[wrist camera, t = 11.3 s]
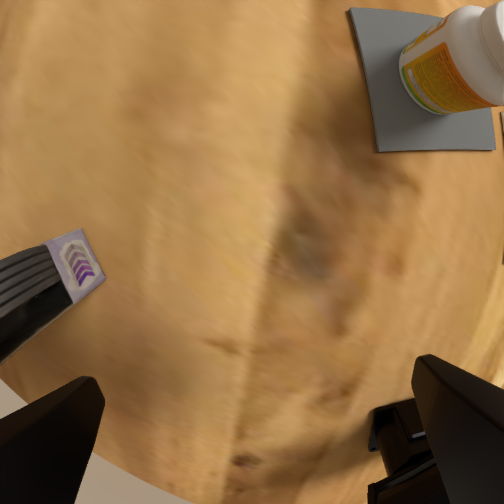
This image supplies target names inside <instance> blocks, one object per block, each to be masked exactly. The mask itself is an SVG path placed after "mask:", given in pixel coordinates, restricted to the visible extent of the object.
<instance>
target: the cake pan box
mask: <svg viewBox="0 0 504 504" xmlns="http://www.w3.org/2000/svg"><path fill="white" fill-rule="evenodd" d="M105 280H106V276H105V275H104V273H103V271H102V269H101V267H100V265H99V263H98V261H97V259H96V257H95V255H94V253H93V251H92V249H91V247H90V245H89V243H88V241H87V239H86V237H85V235H84V232H83V230H82V228H79V229H76V230H73V231H71V232H68V233H66V234H63V235H60V236H58V237H56V238H53V239H51V240H49V241H46V242H44V243H42V244H40V245H39V246H36V247H33V248H29V249H26V250H23V251H21V252H18V253H16V254H13V255H11V256H9V257H6V258H4V259H2V260H0V366H1V365H2V364H3V363H4V362H6V361H7V360H8V359H9V358H10V357H11V356H12V355H13V354H14V353H15V352H16V351H18V350H19V349H20V348H21V347H22V346H23V345H25V344H26V343H27V342H28V341H29V340H31V339H32V338H33V337H34V336H36V335H37V334H38V333H39V332H41V331H42V330H43V329H44V328H46V327H47V326H48V325H49V324H51V323H52V322H53V321H55V320H56V319H57V318H59V317H60V316H61V315H62V314H64V313H65V312H66V311H67V310H69V309H70V308H71V307H72V306H74V305H75V304H76V303H78V302H79V301H80V300H81V299H83V298H84V297H85V296H86V295H88V294H89V293H90V292H91V291H92V290H94V289H95V288H96V287H97V286H99V285H100V284H101V283H102V282H104V281H105Z"/></svg>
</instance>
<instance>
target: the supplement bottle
mask: <svg viewBox="0 0 504 504" xmlns="http://www.w3.org/2000/svg"><path fill="white" fill-rule="evenodd" d="M399 72H400V77H401V80H402V82H403V85H404V87H405V89H406V90H407V92H408V94H409V95H410V96H411V98H412V99H413V100H414V101H415V102H416V103H417V104H418V105H420V106H421V107H422V108H424V109H425V110H427V111H429V112H432V113H435V114H440V115H447V114H454V113H459V112H465V111H470V110H476V109H483V108H490V107H497V106H504V1H500V2H498V3H495V4H493V5H491V6H489V7H487V8H486V9H485V8H482V7H479V6H472V5H469V6H463V7H461V8H458V9H457V10H455V11H453V12H452V13H450V14H449V15H447V16H446V17H445V18H443V19H442V20H440V21H439V22H438V23H436V24H434V25H433V26H432V27H430V28H429V29H428V30H426V31H425V32H423V33H422V34H421V35H419V36H418V37H417V38H415V39H414V40H413V41H411V42H410V43H409V44H408V45H407V46H406V47H405V48H404V49H403V51H402V53H401V55H400V59H399Z"/></svg>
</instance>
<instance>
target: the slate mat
mask: <svg viewBox="0 0 504 504" xmlns="http://www.w3.org/2000/svg"><path fill="white" fill-rule="evenodd" d="M349 12H350V15H351V19H352V23H353V26H354V30H355V34H356V38H357V42H358V46H359V50H360V54H361V59H362V63H363V68H364V73H365V77H366V82H367V88H368V93H369V98H370V104H371V110H372V116H373V123H374V129H375V137H376V144H377V152H384V151H404V150H439V149H474V150H496V143H495V134H494V126H493V119H492V112H491V107H490V108H483V109H476V110H470V111H465V112H459V113H454V114H447V115H440V114H435V113H432V112H429V111H427V110H425V109H424V108H422V107H421V106H420V105H418V104H417V103H416V102H415V101H414V100H413V99H412V98H411V96H410V95H409V94H408V92H407V90H406V89H405V87H404V85H403V82H402V80H401V77H400V72H399V59H400V55H401V53H402V51H403V49H404V48H405V47H406V46H407V45H408V44H409V43H410V42H411V41H413V40H414V39H415V38H417V37H418V36H419V35H421V34H422V33H423V32H425V31H426V30H428V29H429V28H430V27H432V26H433V25H434V24H436V23H438V22H439V21H440V20H442V19H443V18H441V17H435V16H430V15H424V14H418V13H411V12H403V11H394V10H384V9H372V8H351V7H350V9H349Z"/></svg>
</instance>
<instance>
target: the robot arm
mask: <svg viewBox="0 0 504 504" xmlns="http://www.w3.org/2000/svg"><path fill="white" fill-rule="evenodd" d="M411 385H412V390H413V393H414V396H415V399H412V400H408V401H405V402H401V403H397V404H393V405H388V406H384V407H380V408H377V409H375V410H374V412H373V419H372V425H371V432H370V438H369V444H368V450H369V451H370V452H374V451H378V450H380V453H381V456H382V459H383V462H384V466H385V469H386V473H387V476H388V477H386V478H384V479H382V480H380V481H378V482H376V483H372V484H370V485H368V493H367V498H368V504H504V389H501V388H499V387H497V386H495V385H493V384H491V383H489V382H487V381H485V380H483V379H481V378H479V377H477V376H475V375H473V374H471V373H469V372H467V371H465V370H463V369H461V368H459V367H457V366H454V365H452V364H450V363H448V362H446V361H444V360H442V359H440V358H438V357H436V356H434V355H432V354H427V355H422V356H419V357H417V358H416V361H415V365H414V370H413V375H412V381H411ZM104 406H105V398H104V396H103V394H102V392H101V390H100V387H99V385H98V383H97V381H96V379H95V378H93V377H89V376H81V377H79V378H77V379H75V380H73V381H71V382H70V383H68V384H66V385H64V386H62V387H60V388H58V389H57V390H55V391H53V392H51V393H49V394H47V395H45V396H44V397H42V398H40V399H38V400H36V401H34V402H32V403H30V404H28V405H27V406H25V407H23V408H21V409H19V410H17V411H15V412H13V413H11V414H9V415H7V416H6V417H4V418H2V419H0V504H74V503H75V500H76V497H77V494H78V491H79V488H80V484H81V482H82V479H83V476H84V473H85V470H86V467H87V464H88V461H89V459H90V456H91V453H92V450H93V447H94V444H95V441H96V437H97V433H98V429H99V425H100V421H101V417H102V414H103V410H104Z"/></svg>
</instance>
